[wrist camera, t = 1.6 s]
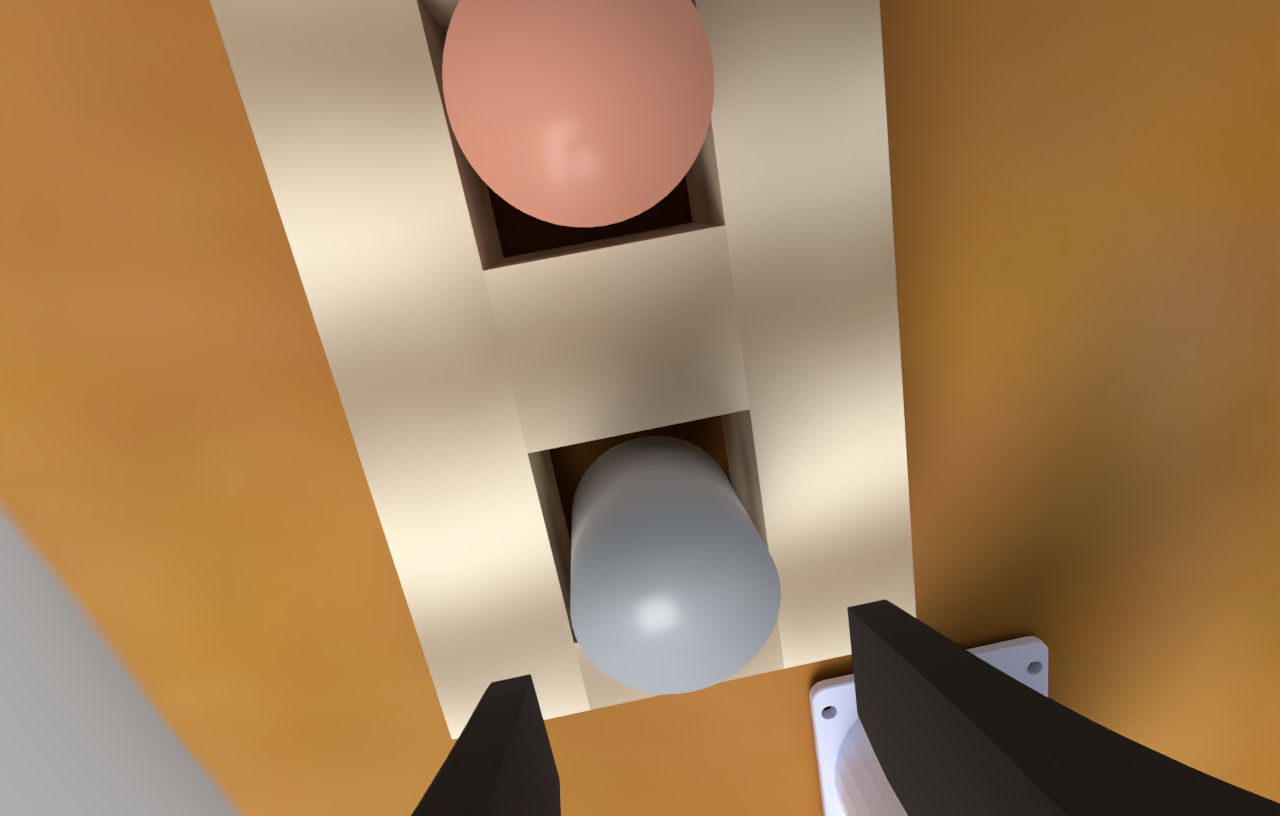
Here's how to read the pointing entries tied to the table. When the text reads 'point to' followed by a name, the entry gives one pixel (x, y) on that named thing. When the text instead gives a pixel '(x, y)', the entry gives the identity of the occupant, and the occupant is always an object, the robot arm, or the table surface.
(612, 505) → the grey button
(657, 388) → the button panel
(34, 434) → the table surface
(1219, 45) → the table surface
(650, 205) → the terracotta button
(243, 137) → the table surface
